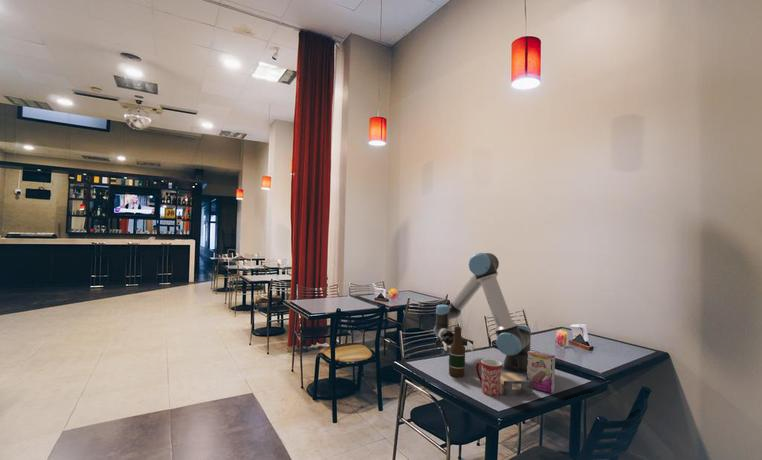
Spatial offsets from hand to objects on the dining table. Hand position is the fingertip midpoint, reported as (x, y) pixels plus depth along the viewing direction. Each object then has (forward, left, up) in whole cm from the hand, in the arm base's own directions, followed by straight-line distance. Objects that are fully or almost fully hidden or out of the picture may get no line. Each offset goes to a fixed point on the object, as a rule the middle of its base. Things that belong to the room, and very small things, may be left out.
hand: (459, 348), depth 174 cm
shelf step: (-20, +13, -14) cm, 28 cm away
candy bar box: (-34, +15, -15) cm, 40 cm away
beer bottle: (0, -3, -15) cm, 15 cm away
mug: (-8, +17, -15) cm, 23 cm away
